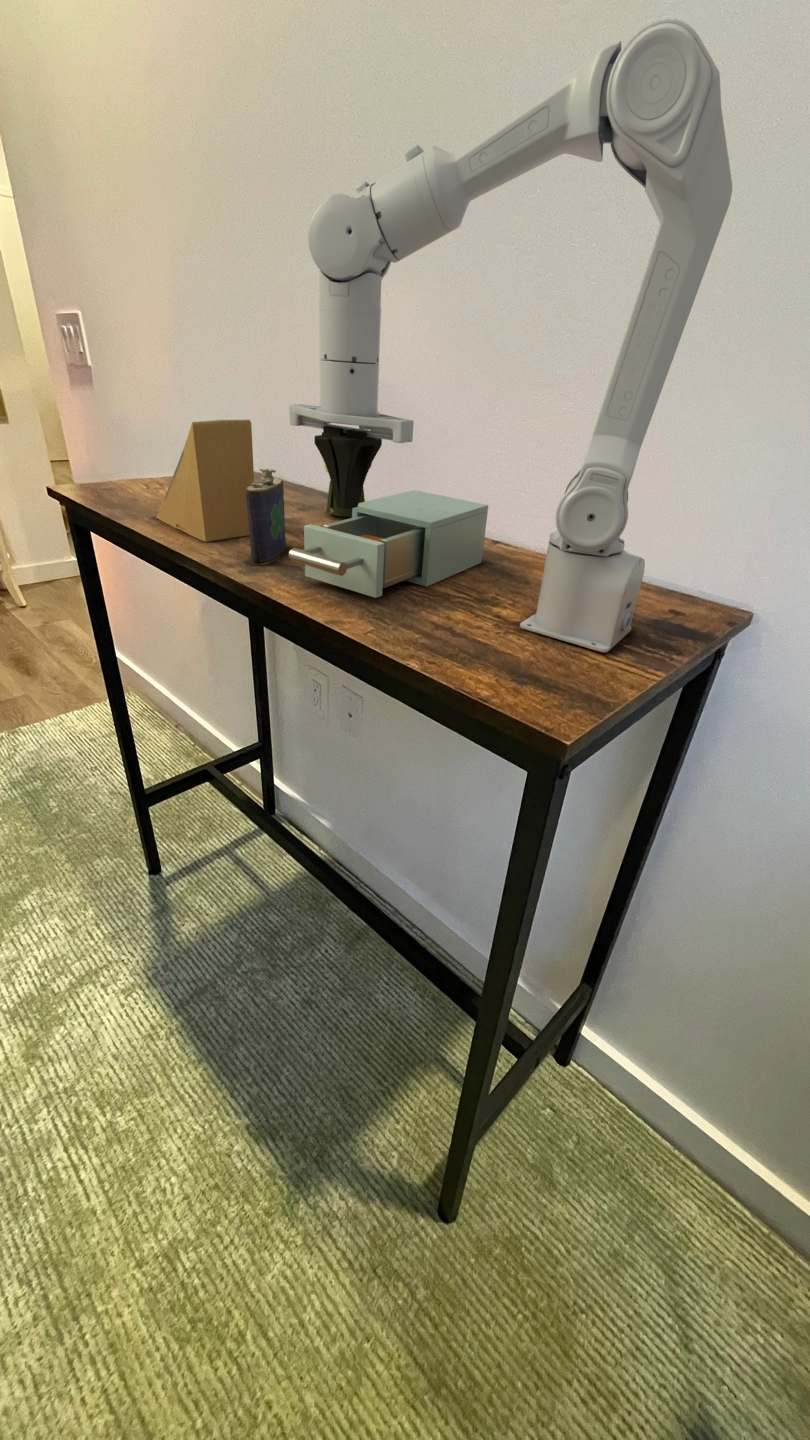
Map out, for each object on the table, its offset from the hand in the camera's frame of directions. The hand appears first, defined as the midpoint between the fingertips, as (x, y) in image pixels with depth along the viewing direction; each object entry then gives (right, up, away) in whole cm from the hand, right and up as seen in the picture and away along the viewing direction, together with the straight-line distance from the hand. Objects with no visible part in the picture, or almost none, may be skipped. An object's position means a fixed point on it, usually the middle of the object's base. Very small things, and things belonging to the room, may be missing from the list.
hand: (347, 507), depth 68 cm
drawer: (+1, -6, +6) cm, 9 cm away
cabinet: (+8, -2, +15) cm, 17 cm away
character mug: (-4, +10, +36) cm, 37 cm away
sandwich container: (-23, +6, +25) cm, 35 cm away
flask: (-12, -1, +15) cm, 19 cm away
